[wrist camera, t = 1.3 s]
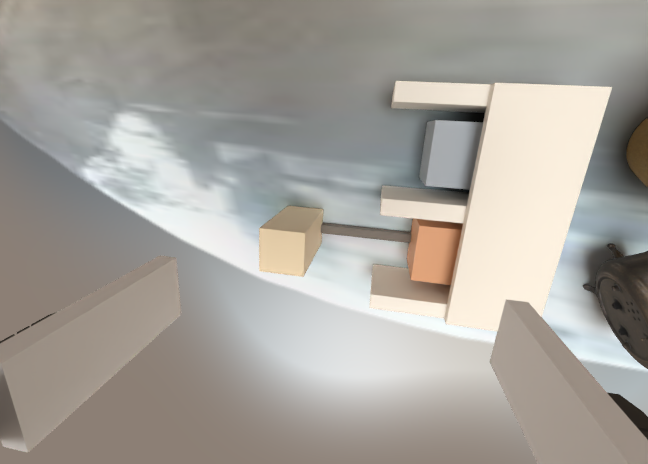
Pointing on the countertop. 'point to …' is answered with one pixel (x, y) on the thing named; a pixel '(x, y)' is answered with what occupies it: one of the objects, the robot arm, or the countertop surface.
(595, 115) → the shelf lanes
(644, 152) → the plant pot
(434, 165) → the slate block
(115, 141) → the countertop surface
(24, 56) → the countertop surface
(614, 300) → the alarm clock
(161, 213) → the countertop surface
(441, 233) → the corded block
